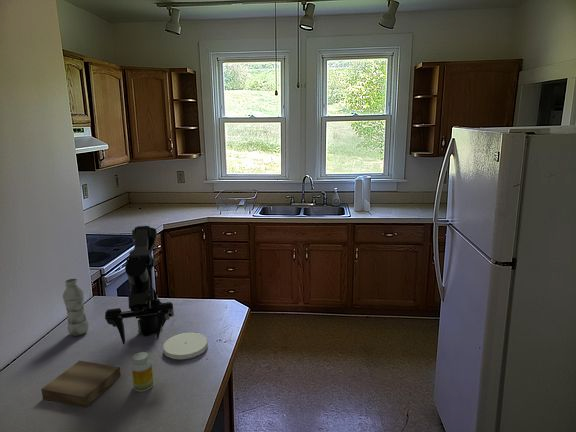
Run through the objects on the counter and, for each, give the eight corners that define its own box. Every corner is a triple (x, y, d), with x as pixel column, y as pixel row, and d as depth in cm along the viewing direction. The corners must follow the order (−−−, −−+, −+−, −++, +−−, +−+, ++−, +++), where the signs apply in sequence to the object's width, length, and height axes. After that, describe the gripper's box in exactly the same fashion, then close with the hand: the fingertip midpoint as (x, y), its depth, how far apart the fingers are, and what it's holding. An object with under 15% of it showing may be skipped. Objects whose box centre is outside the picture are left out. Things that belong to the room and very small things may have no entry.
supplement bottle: (130, 385, 116) (127, 355, 114) (149, 378, 120) (146, 348, 117) (137, 395, 112) (133, 363, 110) (156, 387, 115) (153, 356, 113)
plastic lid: (155, 351, 134) (154, 344, 134) (191, 334, 144) (191, 328, 144) (179, 367, 125) (178, 360, 124) (216, 349, 135) (216, 342, 134)
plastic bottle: (81, 338, 142) (73, 284, 138) (64, 337, 144) (55, 283, 139) (93, 329, 148) (86, 277, 144) (76, 328, 150) (69, 276, 145)
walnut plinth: (80, 369, 124) (79, 360, 124) (120, 375, 121) (119, 366, 120) (42, 398, 111) (41, 389, 111) (86, 407, 108) (84, 397, 107)
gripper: (102, 283, 117) (99, 338, 109) (170, 276, 121) (172, 328, 113) (109, 298, 126) (108, 349, 118) (172, 291, 131) (175, 340, 123)
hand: (141, 341), depth 118 cm, fingers open, 9 cm apart
